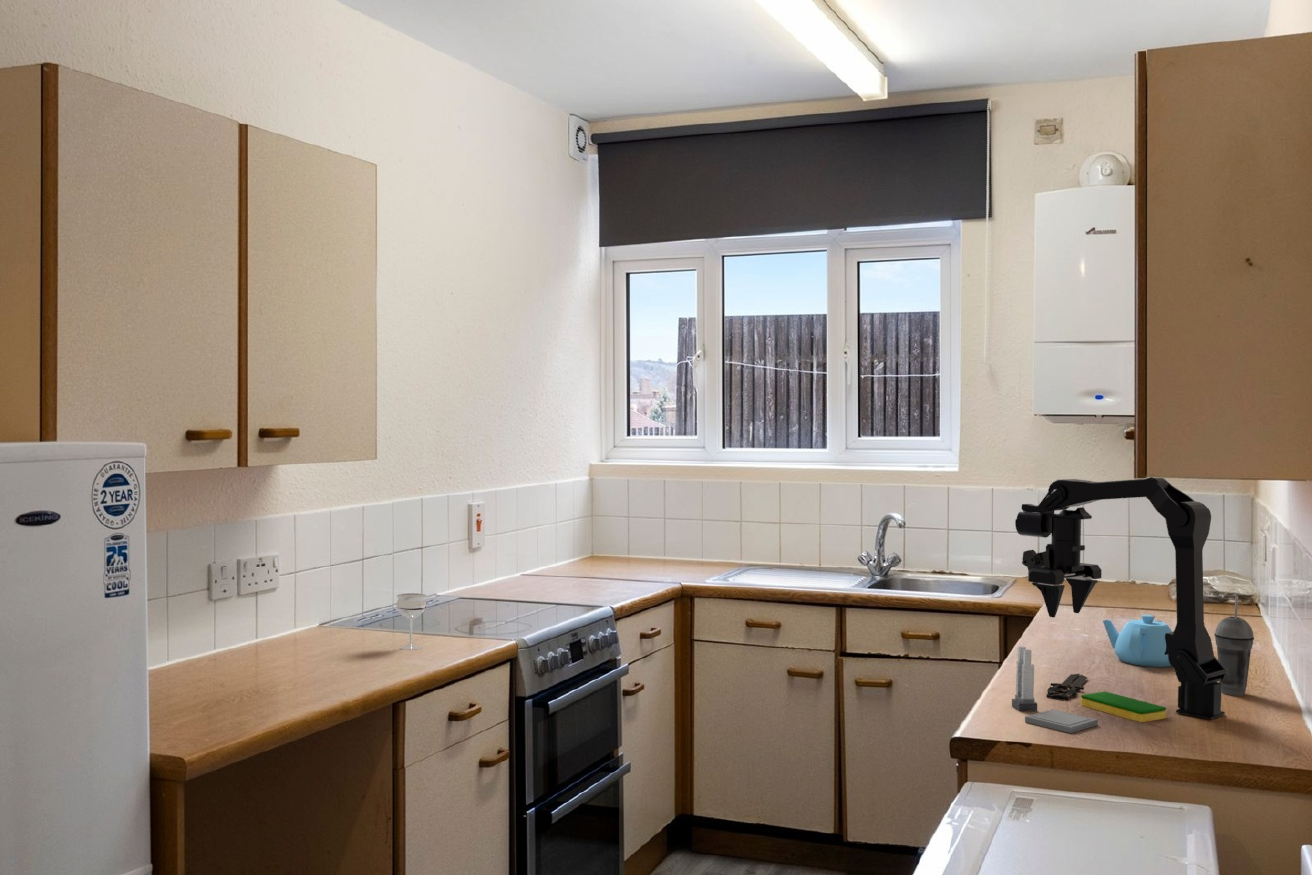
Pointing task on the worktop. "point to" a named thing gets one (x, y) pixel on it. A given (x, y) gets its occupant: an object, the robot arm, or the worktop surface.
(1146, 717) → the dish sponge
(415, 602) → the wineglass
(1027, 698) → the grey stepped bar
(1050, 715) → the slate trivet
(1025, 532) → the robot arm
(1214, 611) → the worktop surface
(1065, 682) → the dark piece
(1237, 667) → the beverage cup
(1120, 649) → the teapot
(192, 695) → the worktop surface
